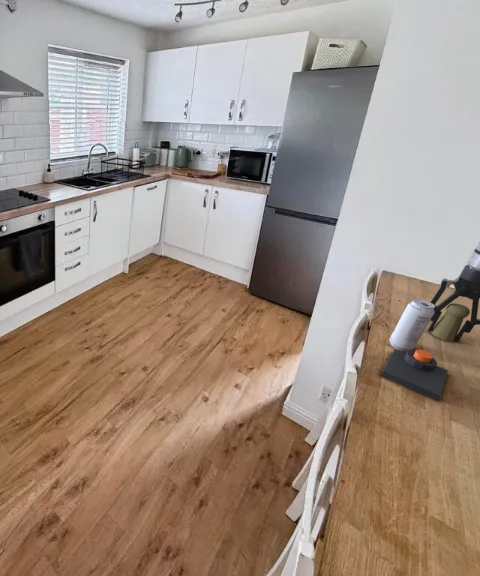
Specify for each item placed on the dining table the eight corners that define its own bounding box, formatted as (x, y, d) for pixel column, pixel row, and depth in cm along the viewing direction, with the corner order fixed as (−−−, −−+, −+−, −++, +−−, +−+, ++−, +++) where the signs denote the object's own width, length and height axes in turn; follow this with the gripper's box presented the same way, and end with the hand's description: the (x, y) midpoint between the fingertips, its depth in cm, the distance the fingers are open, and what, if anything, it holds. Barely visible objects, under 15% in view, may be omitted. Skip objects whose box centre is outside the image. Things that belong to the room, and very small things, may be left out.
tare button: (414, 353, 102) (417, 348, 101) (430, 359, 100) (433, 354, 99) (412, 358, 100) (414, 353, 99) (428, 365, 98) (431, 360, 97)
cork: (432, 327, 120) (449, 298, 115) (456, 336, 116) (475, 306, 111) (428, 334, 116) (446, 305, 111) (453, 343, 112) (472, 313, 107)
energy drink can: (402, 340, 113) (425, 298, 106) (417, 352, 108) (443, 309, 100) (383, 339, 113) (405, 297, 105) (398, 352, 107) (422, 308, 100)
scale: (392, 352, 107) (397, 342, 106) (445, 373, 100) (451, 363, 98) (380, 375, 98) (386, 365, 96) (437, 400, 91) (444, 390, 89)
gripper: (530, 276, 101) (484, 343, 112) (442, 254, 113) (408, 317, 124) (531, 284, 97) (482, 354, 108) (439, 261, 108) (404, 325, 120)
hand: (443, 334), depth 116 cm, fingers closed on cork, 6 cm apart
